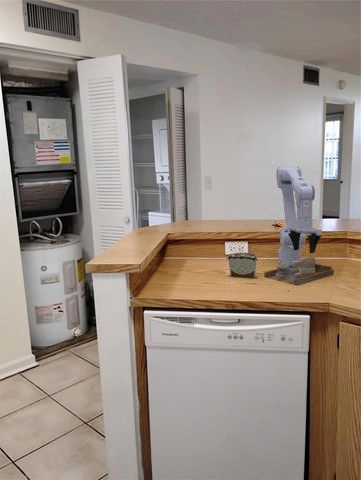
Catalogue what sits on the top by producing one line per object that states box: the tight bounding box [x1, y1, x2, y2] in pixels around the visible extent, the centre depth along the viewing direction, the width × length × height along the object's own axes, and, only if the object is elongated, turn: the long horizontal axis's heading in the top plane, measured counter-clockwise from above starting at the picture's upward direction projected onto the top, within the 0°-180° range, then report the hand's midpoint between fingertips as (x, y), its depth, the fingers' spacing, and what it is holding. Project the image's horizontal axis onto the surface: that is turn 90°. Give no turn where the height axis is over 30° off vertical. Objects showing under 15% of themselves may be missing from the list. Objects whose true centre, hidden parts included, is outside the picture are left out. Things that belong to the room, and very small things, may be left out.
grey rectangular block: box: [292, 256, 316, 276], centre depth 164 cm, size 2×11×6 cm, turn 125°
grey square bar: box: [275, 265, 302, 282], centre depth 159 cm, size 10×4×4 cm, turn 35°
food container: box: [226, 252, 259, 280], centre depth 165 cm, size 12×6×10 cm, turn 65°
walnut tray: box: [263, 263, 335, 287], centre depth 162 cm, size 16×22×4 cm
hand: (304, 251), depth 163 cm, fingers open, 7 cm apart
